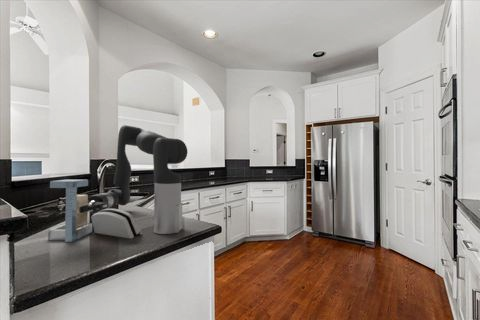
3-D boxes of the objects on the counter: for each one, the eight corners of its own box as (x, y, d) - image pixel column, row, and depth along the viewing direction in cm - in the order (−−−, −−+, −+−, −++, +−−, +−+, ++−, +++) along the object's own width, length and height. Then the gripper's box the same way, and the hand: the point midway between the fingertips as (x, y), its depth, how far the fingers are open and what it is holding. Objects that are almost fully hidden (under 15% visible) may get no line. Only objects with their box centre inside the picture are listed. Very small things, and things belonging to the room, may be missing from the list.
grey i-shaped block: (92, 232, 84) (92, 179, 84) (71, 242, 74) (72, 181, 74) (67, 232, 84) (68, 178, 84) (42, 242, 73) (44, 181, 74)
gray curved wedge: (142, 234, 82) (135, 208, 79) (132, 243, 78) (124, 216, 75) (106, 229, 88) (98, 204, 85) (95, 236, 84) (86, 211, 81)
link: (87, 226, 92) (87, 194, 92) (80, 229, 88) (81, 196, 88) (76, 226, 92) (77, 194, 92) (69, 229, 88) (70, 196, 88)
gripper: (83, 193, 104) (54, 199, 87) (117, 193, 104) (94, 199, 87) (83, 211, 104) (53, 220, 87) (116, 211, 104) (93, 220, 87)
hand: (74, 210), depth 87 cm, fingers closed on link, 4 cm apart
